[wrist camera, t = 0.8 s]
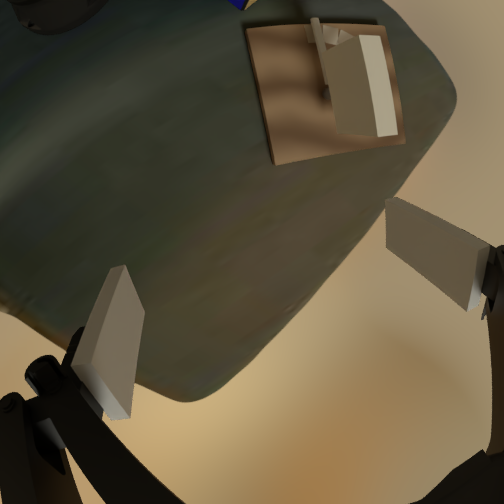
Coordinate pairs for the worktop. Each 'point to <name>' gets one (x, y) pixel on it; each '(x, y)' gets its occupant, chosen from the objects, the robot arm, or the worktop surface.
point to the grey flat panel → (357, 84)
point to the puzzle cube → (242, 3)
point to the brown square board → (308, 91)
